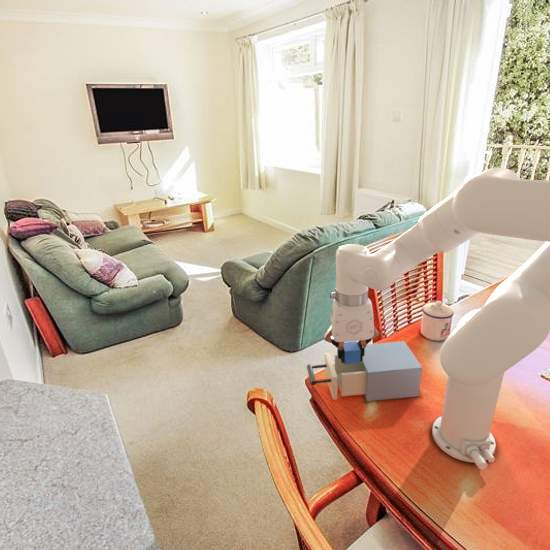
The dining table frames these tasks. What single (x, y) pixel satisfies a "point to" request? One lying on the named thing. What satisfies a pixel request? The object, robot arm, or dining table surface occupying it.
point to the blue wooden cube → (351, 353)
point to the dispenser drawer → (341, 376)
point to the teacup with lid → (436, 321)
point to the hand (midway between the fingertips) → (350, 358)
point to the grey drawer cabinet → (391, 371)
